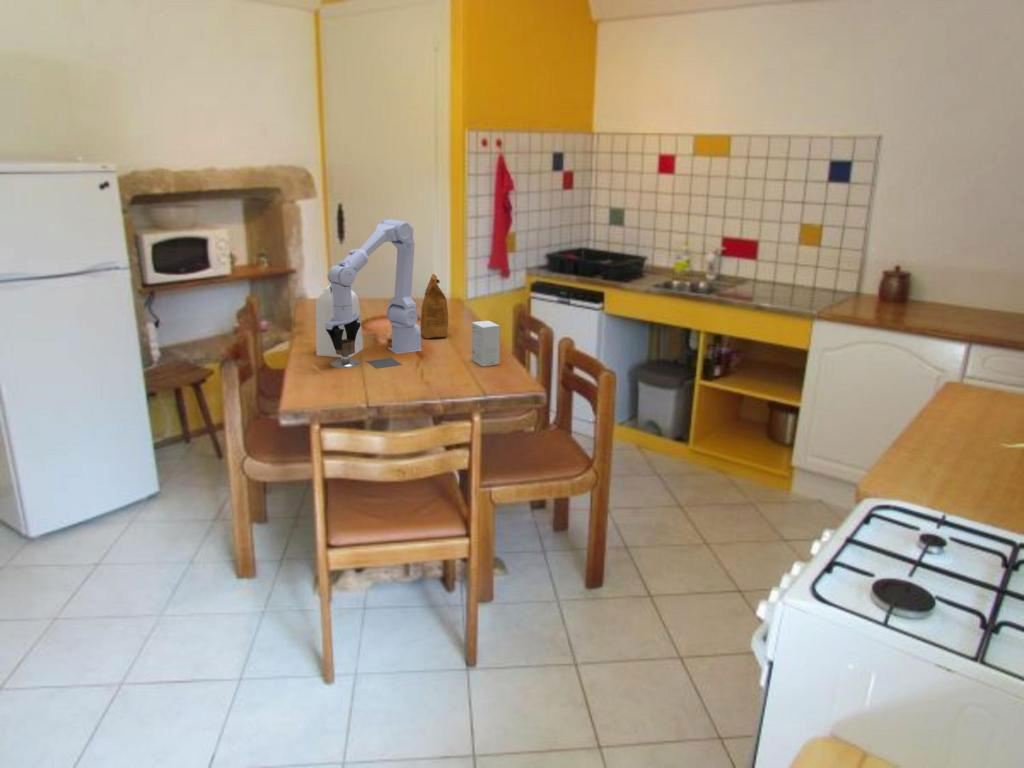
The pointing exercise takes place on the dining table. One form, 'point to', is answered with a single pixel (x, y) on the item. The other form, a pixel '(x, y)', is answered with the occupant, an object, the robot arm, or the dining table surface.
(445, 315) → the coffee package
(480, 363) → the small box
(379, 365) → the mat
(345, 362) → the hub
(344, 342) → the ring
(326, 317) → the milk
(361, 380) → the dining table surface
